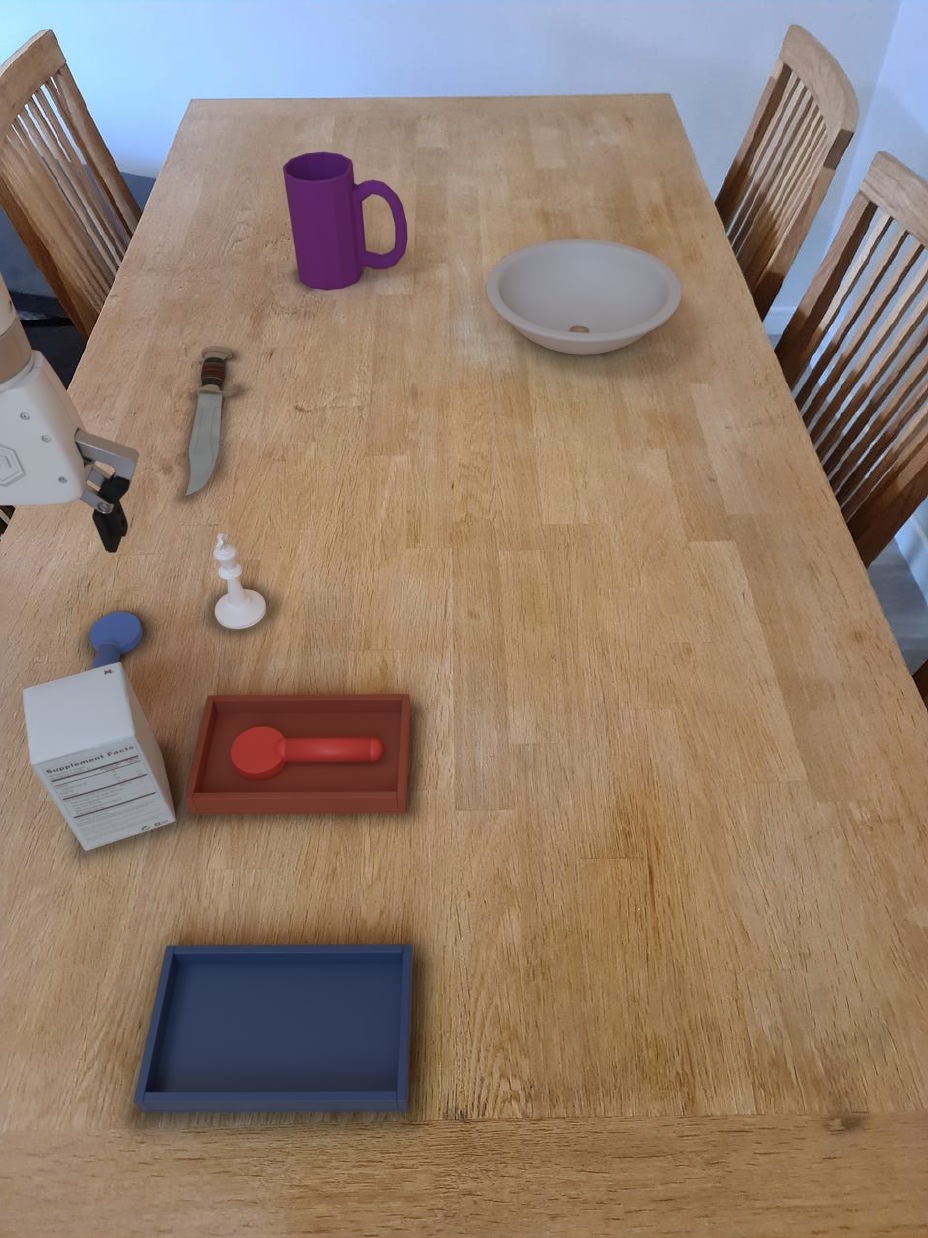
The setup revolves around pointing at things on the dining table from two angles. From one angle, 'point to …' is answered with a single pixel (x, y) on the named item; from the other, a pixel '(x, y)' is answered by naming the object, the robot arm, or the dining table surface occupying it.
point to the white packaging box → (97, 755)
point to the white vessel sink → (583, 294)
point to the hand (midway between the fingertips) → (55, 541)
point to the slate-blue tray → (279, 1030)
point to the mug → (335, 220)
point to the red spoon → (295, 751)
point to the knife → (208, 417)
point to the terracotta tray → (303, 782)
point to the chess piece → (235, 591)
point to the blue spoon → (114, 637)
